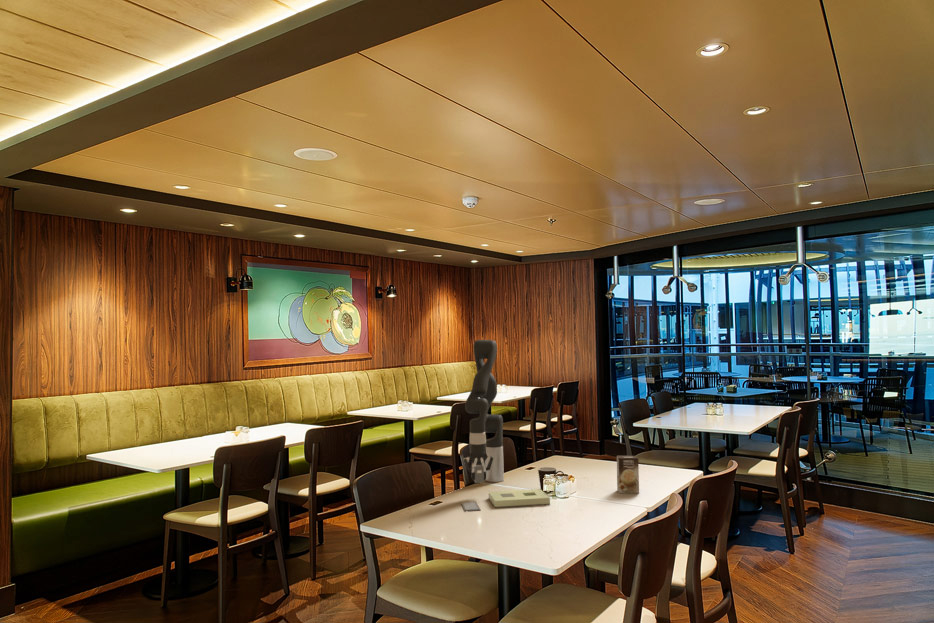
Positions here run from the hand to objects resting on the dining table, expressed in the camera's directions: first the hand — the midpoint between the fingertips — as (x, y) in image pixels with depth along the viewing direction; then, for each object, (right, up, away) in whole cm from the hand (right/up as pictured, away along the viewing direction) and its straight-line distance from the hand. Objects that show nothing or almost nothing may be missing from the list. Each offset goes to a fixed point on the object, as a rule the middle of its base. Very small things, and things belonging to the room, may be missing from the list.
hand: (478, 479), depth 273 cm
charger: (0, -1, 0) cm, 1 cm away
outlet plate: (+17, -7, -9) cm, 21 cm away
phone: (-4, -8, -16) cm, 18 cm away
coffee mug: (+34, -8, +10) cm, 36 cm away
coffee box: (+69, -7, +4) cm, 70 cm away
